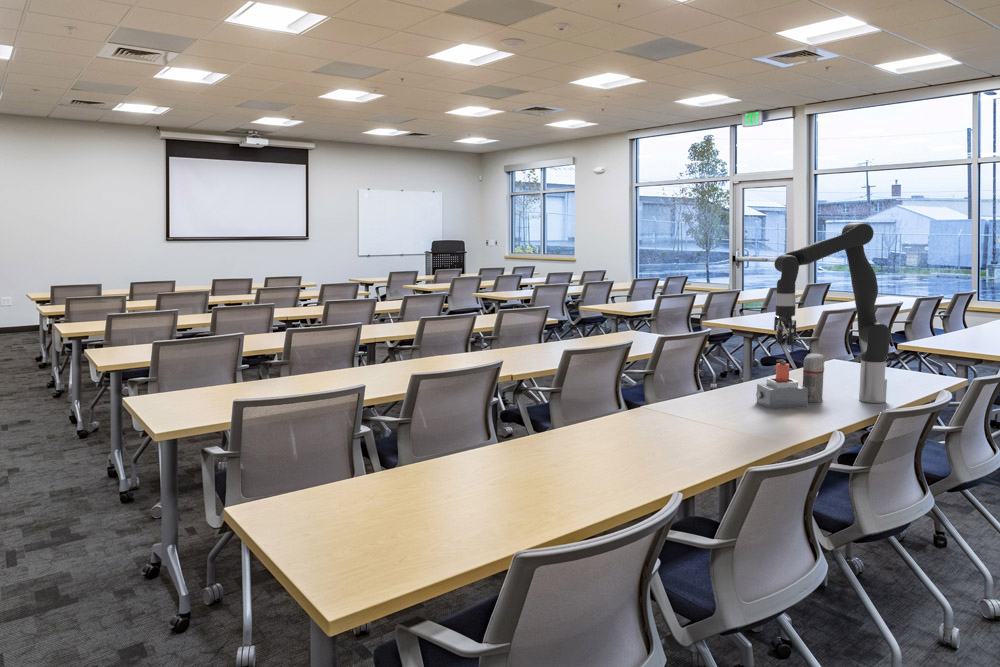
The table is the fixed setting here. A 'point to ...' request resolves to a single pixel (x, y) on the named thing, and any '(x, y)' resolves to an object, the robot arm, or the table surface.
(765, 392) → the gearbox
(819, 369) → the spray can
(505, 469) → the table surface
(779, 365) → the oil can
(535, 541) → the table surface
